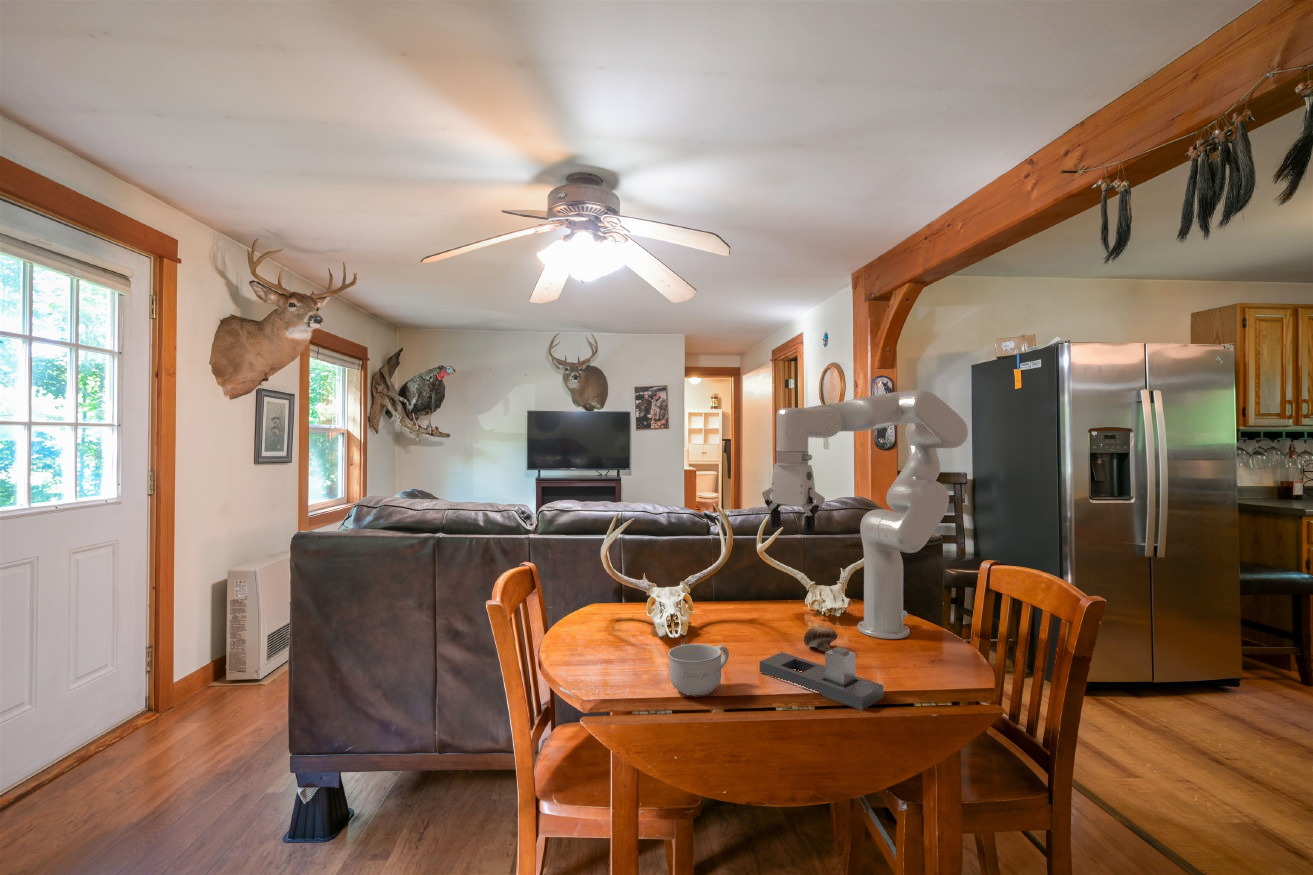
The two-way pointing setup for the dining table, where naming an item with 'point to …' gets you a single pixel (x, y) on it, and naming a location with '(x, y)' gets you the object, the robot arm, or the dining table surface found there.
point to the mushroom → (820, 637)
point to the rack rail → (821, 680)
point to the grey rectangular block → (840, 667)
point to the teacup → (696, 667)
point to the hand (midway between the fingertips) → (792, 529)
